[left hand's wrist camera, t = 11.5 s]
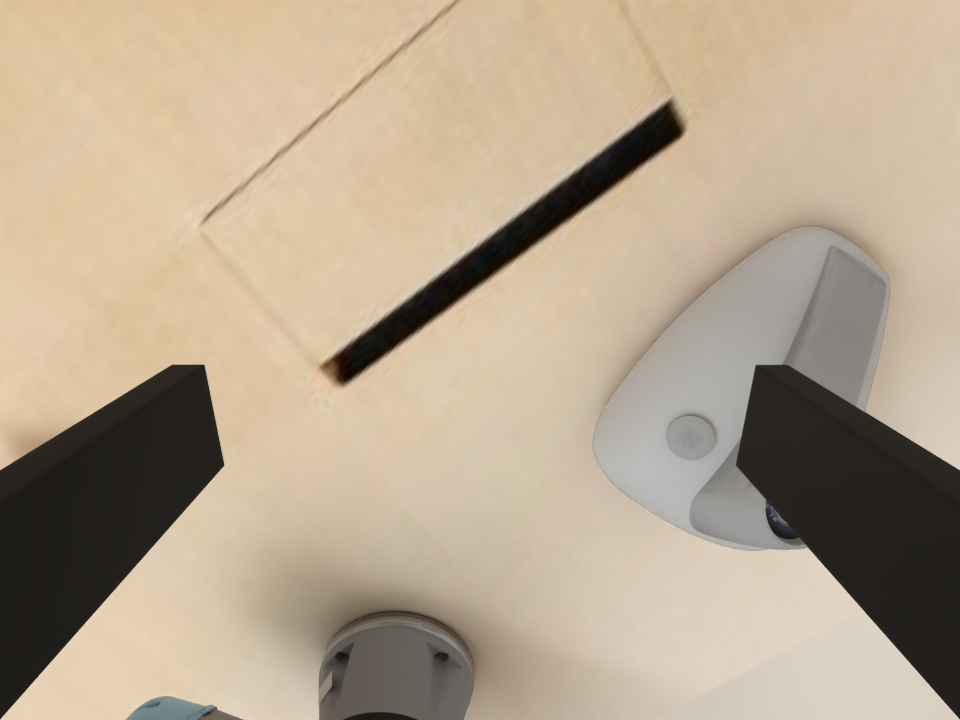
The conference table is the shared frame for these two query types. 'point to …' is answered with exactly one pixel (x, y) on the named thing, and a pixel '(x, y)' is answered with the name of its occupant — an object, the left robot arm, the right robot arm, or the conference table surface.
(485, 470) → the conference table surface
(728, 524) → the projector
